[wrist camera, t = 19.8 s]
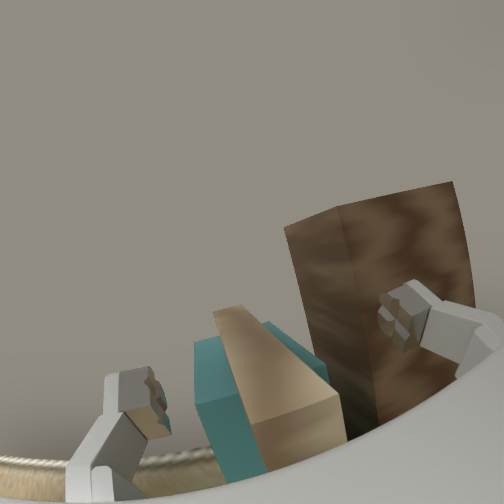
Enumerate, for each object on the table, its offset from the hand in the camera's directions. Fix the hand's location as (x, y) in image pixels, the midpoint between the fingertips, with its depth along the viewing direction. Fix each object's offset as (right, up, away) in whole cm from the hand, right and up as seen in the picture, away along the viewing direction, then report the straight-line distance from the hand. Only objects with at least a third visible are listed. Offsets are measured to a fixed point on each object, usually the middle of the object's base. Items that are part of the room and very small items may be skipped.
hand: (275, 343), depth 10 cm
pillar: (+16, -18, +18) cm, 30 cm away
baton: (-1, -5, +9) cm, 11 cm away
